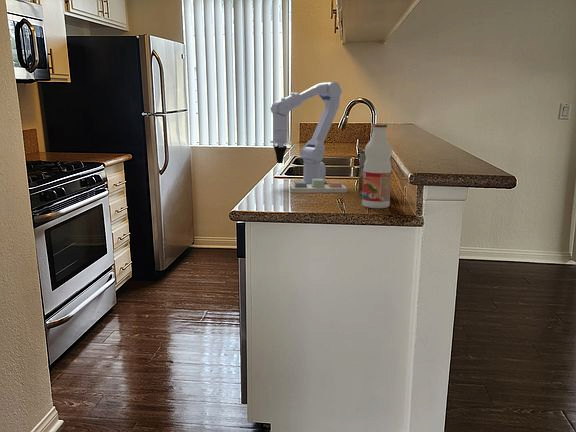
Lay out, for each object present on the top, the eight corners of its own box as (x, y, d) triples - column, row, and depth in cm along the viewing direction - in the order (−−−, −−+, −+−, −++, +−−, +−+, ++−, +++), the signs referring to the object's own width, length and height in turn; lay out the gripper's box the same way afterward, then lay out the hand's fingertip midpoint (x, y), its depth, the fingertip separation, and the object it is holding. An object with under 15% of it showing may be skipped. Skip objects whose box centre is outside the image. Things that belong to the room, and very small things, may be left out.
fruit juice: (392, 208, 174) (397, 124, 168) (365, 209, 173) (369, 124, 167) (385, 203, 183) (389, 123, 177) (359, 203, 182) (362, 123, 176)
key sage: (322, 184, 210) (322, 178, 209) (324, 186, 205) (324, 180, 205) (311, 184, 209) (312, 178, 209) (313, 186, 205) (313, 180, 204)
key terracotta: (339, 187, 210) (339, 181, 210) (341, 189, 206) (341, 183, 206) (328, 187, 210) (329, 181, 210) (330, 189, 206) (330, 183, 205)
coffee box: (385, 194, 200) (387, 153, 197) (380, 197, 195) (382, 154, 191) (363, 192, 205) (364, 151, 201) (357, 194, 199) (359, 153, 195)
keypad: (342, 188, 213) (342, 184, 213) (347, 192, 204) (347, 188, 203) (289, 188, 212) (289, 184, 211) (291, 192, 202) (291, 188, 202)
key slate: (305, 187, 209) (305, 181, 209) (306, 189, 205) (306, 183, 204) (294, 187, 209) (294, 181, 208) (295, 189, 205) (295, 183, 204)
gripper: (269, 129, 221) (269, 160, 224) (271, 131, 207) (271, 165, 210) (286, 129, 222) (285, 160, 225) (288, 131, 207) (288, 165, 210)
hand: (279, 163), depth 217 cm, fingers closed
